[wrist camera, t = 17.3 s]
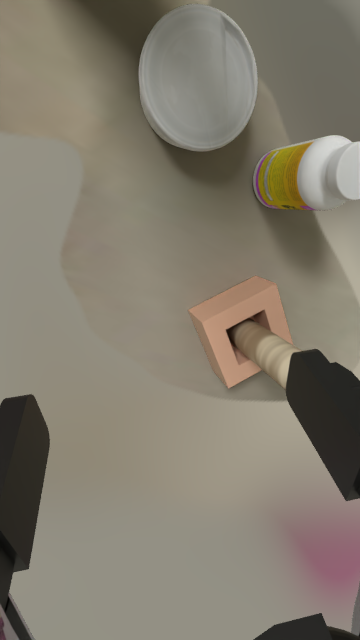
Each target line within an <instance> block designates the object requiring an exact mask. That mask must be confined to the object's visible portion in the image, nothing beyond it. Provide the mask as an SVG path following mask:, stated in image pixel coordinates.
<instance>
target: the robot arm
mask: <svg viewBox="0 0 360 640" xmlns="http://www.w3.org/2000/svg"><path fill="white" fill-rule="evenodd" d="M286 396H287V400H288V402H289V405H290V406H291V408H292V410H293V411H294V413H295V415H296V417H297V418H298V420H299V422H300V424H301V425H302V427H303V429H304V430H305V432H306V434H307V435H308V437H309V439H310V440H311V442H312V444H313V446H314V447H315V449H316V451H317V452H318V454H319V456H320V458H321V459H322V461H323V463H324V464H325V466H326V468H327V469H328V471H329V473H330V474H331V476H332V478H333V480H334V481H335V483H336V485H337V486H338V488H339V490H340V492H341V493H342V495H343V497H344V498H345V500H346V501H348V500H353V499H358V498H360V381H359V380H358V378H357V377H356V376H355V375H354V374H353V373H352V372H351V371H349V370H348V369H346V368H345V367H343V366H341V365H340V364H338V363H337V362H334V363H330V362H329V361H328V360H327V359H326V357H325V356H324V355H323V354H322V353H321V352H320V351H319V350H318V349H312V350H306V351H300V352H294V353H292V355H291V358H290V364H289V370H288V376H287V382H286ZM49 445H50V439H49V431H48V428H47V425H46V423H45V420H44V418H43V416H42V413H41V411H40V408H39V406H38V404H37V401H36V399H35V397H34V396H33V395H31V394H30V395H24V396H18V397H11V398H5V399H4V400H3V401H2V403H1V405H0V640H35V639H34V637H33V635H32V633H31V632H30V630H29V628H28V626H27V624H26V622H25V620H24V619H23V617H22V615H21V613H20V611H19V609H18V607H17V605H16V603H15V602H14V600H13V598H12V596H11V594H10V593H9V589H10V584H11V579H12V574H13V572H17V571H22V570H26V569H29V563H30V558H31V552H32V546H33V540H34V535H35V529H36V523H37V516H38V511H39V505H40V499H41V493H42V488H43V482H44V476H45V469H46V464H47V458H48V453H49ZM254 640H360V583H359V590H358V594H357V597H356V601H355V605H354V612H353V618H352V631H351V633H350V632H347V631H345V630H341V629H338V628H334V627H329V626H327V625H326V623H325V621H324V618H323V616H322V613H319V614H316V615H312V616H308V617H304V618H300V619H296V620H292V621H289V622H285V623H281V624H277V625H274V626H273V627H271V628H269V629H268V630H267V631H265V632H264V633H262V634H261V635H259V636H258V637H257V638H255V639H254Z"/></svg>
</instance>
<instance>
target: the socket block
mask: <svg viewBox="0 0 360 640" xmlns="http://www.w3.org/2000/svg"><path fill="white" fill-rule="evenodd" d="M188 311H189V314H190V316H191V319H192V321H193V323H194V326H195V328H196V330H197V333H198V335H199V338H200V340H201V342H202V345H203V347H204V350H205V352H206V354H207V357H208V359H209V362H210V364H211V366H212V369H213V371H214V372H215V373H216V375H217V376H218V377H219V378H220V379H221V380H222V382H223V383H224V384H225V385H226V386H227V387H228V389H229V388H230V387H232V386H234V385H236V384H238V383H239V382H241V381H243V380H245V379H247V378H248V377H250V376H252V375H254V374H256V373H257V372H259V371H261V370H262V369H261V368H260V367H258V366H257V365H256V364H255V363H254V362H253V361H251V360H250V359H249V358H248V357H247V356H246V355H244V354H243V353H242V352H241V351H240V350H239V349H237V348H236V347H235V346H234V345H233V344H232V343H230V341H229V338H228V335H227V333H226V329H228V328H230V327H232V326H234V325H236V324H237V323H239V322H241V321H243V320H245V319H247V318H251V319H252V320H254V321H255V322H257V323H259V324H260V325H262V326H263V327H265V328H267V329H268V330H270V331H271V332H273V333H275V334H276V335H278V336H279V337H281V338H282V339H284V340H286V341H287V342H289V343H290V344H292V345H293V342H292V339H291V335H290V332H289V328H288V324H287V321H286V317H285V314H284V310H283V306H282V303H281V299H280V296H279V292H278V288H277V285H276V283H273V282H271V281H268V280H266V279H263V278H261V277H258V276H254V277H252V278H250V279H248V280H246V281H244V282H242V283H240V284H238V285H236V286H234V287H232V288H230V289H228V290H226V291H224V292H222V293H220V294H218V295H216V296H214V297H212V298H210V299H209V300H207V301H205V302H203V303H201V304H199V305H197V306H195V307H193V308H191V309H189V310H188Z"/></svg>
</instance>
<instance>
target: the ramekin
mask: <svg viewBox="0 0 360 640" xmlns="http://www.w3.org/2000/svg"><path fill="white" fill-rule="evenodd" d="M139 87H140V101H141V104H142V109H143V111H144V114H145V116H146V118H147V121H148V122H149V124H150V125H151V127H152V129H153V130H154V131H155V132H156V133H157V134H158V135H159V136H160V137H161V138H162V139H164V140H165V141H166V142H168V143H170V144H171V145H174V146H176V147H180V148H185V149H188V150H192V151H211V150H215V149H218V148H221V147H223V146H225V145H227V144H229V143H230V142H231V141H233V140H234V139H235V138H236V137H237V136H238V135H239V134H240V133H241V132H242V131H243V129H244V128H245V127H246V125H247V123H248V122H249V120H250V118H251V115H252V113H253V110H254V107H255V103H256V98H257V91H258V73H257V67H256V61H255V58H254V54H253V51H252V48H251V46H250V44H249V42H248V40H247V38H246V36H245V34H244V33H243V31H242V30H241V29H240V27H239V26H238V25H237V23H236V22H235V21H234V20H232V19H231V18H230V17H229V16H228V15H227V14H225V13H223V12H222V11H220V10H218V9H216V8H214V7H211V6H208V5H203V4H187V5H183V6H180V7H177V8H175V9H173V10H172V11H170V12H168V13H167V14H166V15H164V16H163V17H162V18H161V19H160V20H159V21H158V22H157V23H156V24H155V26H154V27H153V29H152V30H151V32H150V33H149V35H148V37H147V39H146V41H145V43H144V46H143V49H142V52H141V56H140V63H139Z"/></svg>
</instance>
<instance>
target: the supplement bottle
mask: <svg viewBox="0 0 360 640" xmlns="http://www.w3.org/2000/svg"><path fill="white" fill-rule="evenodd" d="M253 187H254V191H255V194H256V196H257V198H258V199H259V201H260V202H261V203H262V204H263V205H265V206H266V207H269V208H273V209H293V210H331V209H335V208H337V207H339V206H341V205H342V204H344V203H345V202H346V201H347V200H358V199H360V142H353V143H352V142H351V141H350V140H348V139H346V138H344V137H342V136H337V135H331V136H326V137H322V138H319V139H314V140H311V141H307V142H302V143H298V144H293V145H289V146H285V147H281V148H277V149H274V150H271V151H269V152H268V153H266V154H265V155H264V156H263V157H262V158H261V159H260V161H259V162H258V164H257V166H256V168H255V171H254V175H253Z"/></svg>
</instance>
